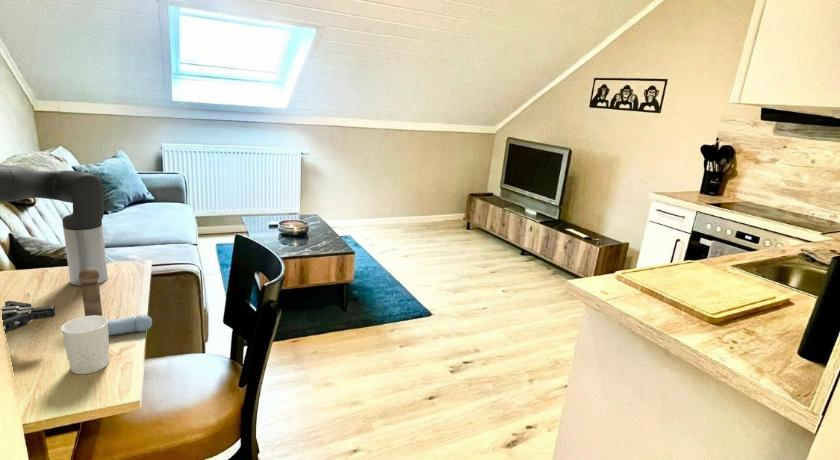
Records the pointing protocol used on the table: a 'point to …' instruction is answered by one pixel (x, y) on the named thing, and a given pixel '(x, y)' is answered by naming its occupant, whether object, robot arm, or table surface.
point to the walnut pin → (90, 291)
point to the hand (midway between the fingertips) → (54, 311)
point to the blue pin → (129, 325)
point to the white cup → (86, 343)
